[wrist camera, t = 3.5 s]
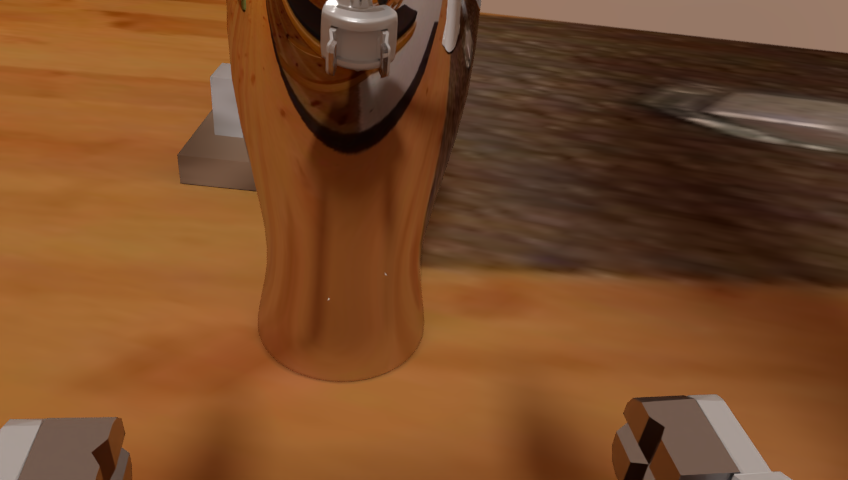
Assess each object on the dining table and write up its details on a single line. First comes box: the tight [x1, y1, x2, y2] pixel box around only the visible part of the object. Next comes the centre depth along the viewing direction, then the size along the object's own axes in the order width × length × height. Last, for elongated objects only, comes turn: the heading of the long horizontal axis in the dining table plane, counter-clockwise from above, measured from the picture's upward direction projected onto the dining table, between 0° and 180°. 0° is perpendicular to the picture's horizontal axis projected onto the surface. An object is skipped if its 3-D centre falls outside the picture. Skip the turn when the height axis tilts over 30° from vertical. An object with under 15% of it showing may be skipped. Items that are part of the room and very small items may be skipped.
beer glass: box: [226, 0, 481, 382], centre depth 21 cm, size 7×7×15 cm
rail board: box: [177, 63, 256, 191], centre depth 39 cm, size 12×19×4 cm, turn 178°
